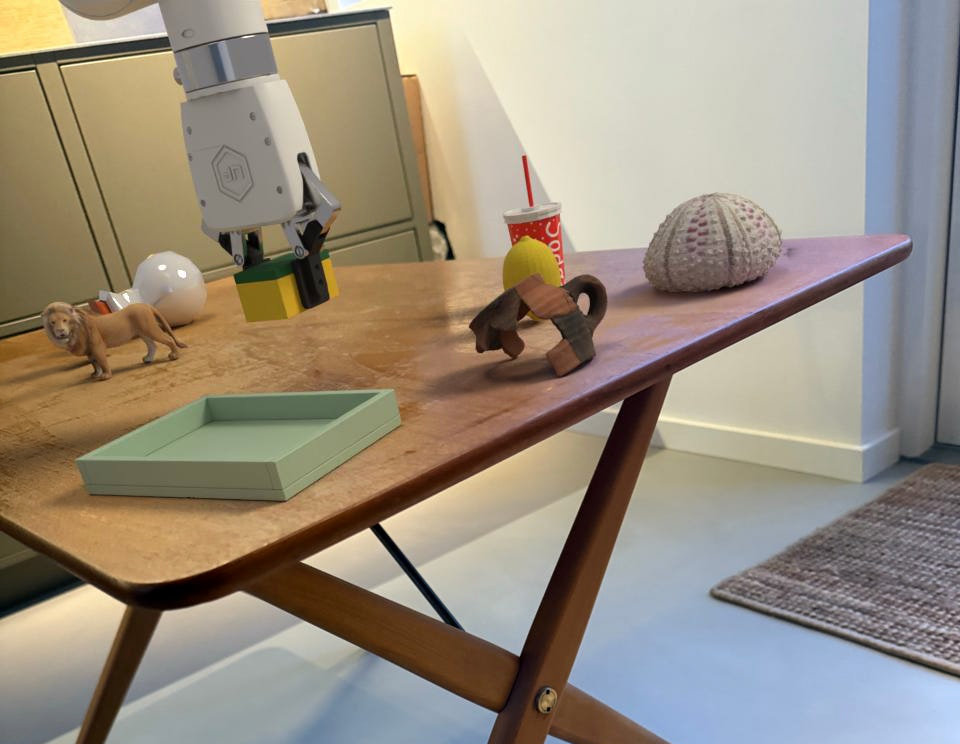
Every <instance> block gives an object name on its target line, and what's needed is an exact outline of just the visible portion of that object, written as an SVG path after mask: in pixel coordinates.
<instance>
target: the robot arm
mask: <svg viewBox="0 0 960 744" xmlns="http://www.w3.org/2000/svg"><path fill="white" fill-rule="evenodd" d="M57 1H58V2H59V3H60V4H61V5H62V6H64V8H65V9H67V10H68V11H70V12H71V13H73V14H74V15H76V16H79V17H80V18H84V19H87V20H91V21H98V22H99V21H100V22H101V21H103V22H104V21H110V20H116V19H119V18H122V17H124V16H128V15H129V14H132V13H135V12H138V11H140V10H142V9H144V8H147V7H150V6H153V5H155V4H158V7H159V10H160V14H161V17H162V21H163V24H164V27H165V31H166V35H167V38H168V40H169V44H170V48H171V51H172V53H173V58H174V62H175V65H176V67H175V68H174V69H173V72H172V74H173V79H174V81H175V82H176V83H177V84H178V85H179V86H182V88H183V92H184V95H185V98H186V101H182V102H180V105H179V106H180V118H181V128H182V134H183V140H184V145H185V152H186V156H187V161H188V162H187V163H188V167H189V170H190V174H191V175H190V176H191V179H192V183H193V187H194V191H195V196H196V199H197V202H198V205H199V209H200V213H201V215H202V219H201V225H200V228H201V231H202V233H203V234H205V235H206V236H207V237H209V238H210V239H212V240H213V241H215V242H216V243H219V245H220V247H221V248H222V249H223V250H224V251H225V252H226V253H228V255H230V256H231V257H232V261H233V263H234V265H235V266H236V267H238V268H241V269H242V271H244V270H246V269H249V268H251V267H254V266H256V265H259V264H262V263H264V262H267V261H269V260H271V257H266V258H265V257H264V256H265V251H264V240H263V239H264V238H263V230H262V229H263V227H268V226H276V225H280V228H281V229H282V231H283V233H284V236H285V238H286V241H287V242H288V244H289V246H290V248H291V250H292V253H294V255H295V256H296V258H297V259H295V260H293V261H291V263H292V269H293V273H294V276H295V280H296V284H297V287H298V291H299V295H300V298H301V302H302V306H303V307H304V308H305V309H309V310H311V309H314V308H316V307H319V306H320V305H323V304H325V303H327V302H329V301H330V300H331V299H330V295H329V291H328V285H327V281H326V277H325V273H324V269H323V265H322V261H321V257H320V253H319V252H321V251H323V250H324V249H325V242H326V241H325V240H326V238H327V236H328V234H329V232H330V230H331V226H332V225H333V223H334V222H335V220H336V219H337V218H338V216H339V214H340V213H341V211H342V204H341V203H340V201H339V200H338V198H336V196H335V195H333V193H332V192H331V191H330V190H329V188H328V187H327V186H326V185H325V184H324V183H323V182H322V180H321V175H320V171H319V167H318V165H317V161H316V157H315V153H314V150H313V147H312V144H311V141H310V139H309V134H308V132H307V131H308V130H307V129H306V128H307V127H306V126H305V123H304V121H303V118H302V115H301V112H300V110H299V107H298V105H297V102H296V100H295V98H294V95H293V93H292V90H291V88H290V86H289V83H288V82H287V80H286V79H281V77H280V74H279V69H278V65H277V61H276V57H275V53H274V50H273V46H272V41H271V38H270V37H271V36H270V34H269V29H268V25H267V23H266V19H265V14H264V10H263V6H262V2H261V0H57ZM312 213H314V215H313V216H312ZM246 236H247V238H246ZM329 299H330V300H329Z"/></svg>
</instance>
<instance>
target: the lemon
mask: <svg viewBox="0 0 960 744" xmlns="http://www.w3.org/2000/svg"><path fill="white" fill-rule="evenodd" d="M536 273H540V274H541V276H542V278H543V280H544V281H545V283H546V284H550V285H555V286H557V287H559V286H561V275H560V270H559V266H558V263H557V261H556V258H555V256H554V254H553V252H552V251H551V249H550V248H549V247H548V246H547V245H545V244H544V243H542V242H540V241H538V240H534V239H531V238H530V237H529V236H524V237H522V238H521V239H520V241H519V242H518V243H516V244H515V245H514V246H513V247H512V246H511V247H510V249H509V250H508V252H507V253H506V255H505V258H504V259H503V265H502V285H503V290H504V291H503V292H505V291H506V290H508V289H510V288H512V287H513V286H514V285H516V284H517V283H519V282H520V281H522V280H523V279H525V278H527V277H528V276H531V275H533V274H536ZM526 316H527V317H529V318H530V319H531V320H532V321H534V322H537V323H538V322H540V321H541V322H542V319H540V318H538V317H537V316H535V315H533V314H532V313H531V311H529V312H528V313H527V315H526Z"/></svg>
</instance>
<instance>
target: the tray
mask: <svg viewBox="0 0 960 744" xmlns="http://www.w3.org/2000/svg"><path fill="white" fill-rule="evenodd" d="M398 404H399V403H398V400H397V396H396V391H395V389H394V388H386V389H385V388H380V389H379V388H377V389H376V388H375V389H347V390H346V389H345V390H321V391H320V390H319V391H317V390H316V391H294V392H293V391H289V392H262V393H232V394H231V393H230V394H229V393H228V394H206V395H205V394H204V395H203V396H201V397H199V398H197V399H195V400H193V401H191V402H189V403H186V404H185V405H182V406H180V407H179V408H176V409H174V410H173V411H170V412H168V413H166V414H164V415H162V416H161V417H158V418H157V419H155V420H152V421H150V422H147V423H145V425H142V426H140V427H138V428H136V429H134V430H132V431H130V432H128V433H126V434H124V435H121V436H120V437H117V438H116V439H114V440H112V441H110V442H108V443H106V444H104V445H102V446H100V447H98V448H96V449H94V450H91V451H90V452H88V453H85V454H84V455H81V456H79V457H77V458H76V459H74V461H75V464H76V467H77V469H78V472H79V474H80V476H81V480H82V482H83V484H84V487H85V489H86V492H87V494H88V495H101V496H103V495H104V496H130V497H131V496H133V497H163V498H187V497H191V498H190V499H192V498H193V497H194V498H193V499H218V500H219V499H220V500H247V501H248V500H249V501H276V502H277V501H279V502H287V501H289V500H290V499H291V498H293V497H294V496H296V495H297V494H299V493H300V492H302V491H303V490H305V489H307V488H308V487H309V486H312V484H314V483H315V482H317V481H318V480H320V479H322V478H324V477H325V476H326V475H327V474H329V473H331V472H332V471H333V470H335V469H337V468H338V467H339V466H341V465H343V464H344V463H345V462H347V461H349V460H351V459H352V458H353V457H355V456H356V455H358V454H359V453H361V452H362V451H364V450H366V449H367V448H369V447H370V446H371V445H373V444H374V443H376V442H377V441H379V440H380V439H382V438H383V437H385V436H386V435H388V434H389V433H390V432H393V431H394V430H395V429H397V428H399V427H400V426H402V423H403V421H402V418H401V417H402V416H401V414H400V408H399V405H398Z"/></svg>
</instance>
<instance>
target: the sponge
mask: <svg viewBox="0 0 960 744" xmlns="http://www.w3.org/2000/svg"><path fill="white" fill-rule="evenodd" d="M319 253H320V257H321V261H322V265H323V269H324V273H325V277H326V281H327V285H328V291H329V295H330V299H329V301H330V300H332V299H335V298H337V297H338V296H340V293H339V289H338V288H339V287H338V284H337V280H336V277H335V272H334V269H333V265H332V260H331V257H330V253H329V249H328V248H324V250H323V251H321V252H319ZM295 259H297V258H296V256H295V255H294V253H293V252H288V253H285V254H282V255H280V256H278V257H275V258H272V259H270V260H269V261H267V262H264V263H262V264H259V265H256V266H254V267H251V268H249V269H246V270H244V271H243V270H241V271H238V272H236V273H233V274H232V275H233V277H232V278H233V280H234V283H235V287H236V290H237V294H238V297H239V301H240V305H241V308H242V311H243V314H244V317H245V321H246V323H247V324H248V323H258V322H272V321H281V320H282V321H283V320H289V319H291V318H294V317H295V316H296V317H297V316H298V315H300V314H302V313H305V312H306V311H308V310H310V309H305V308H304V307H303V306H302V302H301V298H300V295H299V291H298V287H297V284H296V280H295V276H294V273H293V269H292V263H291V261H293V260H295Z"/></svg>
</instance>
